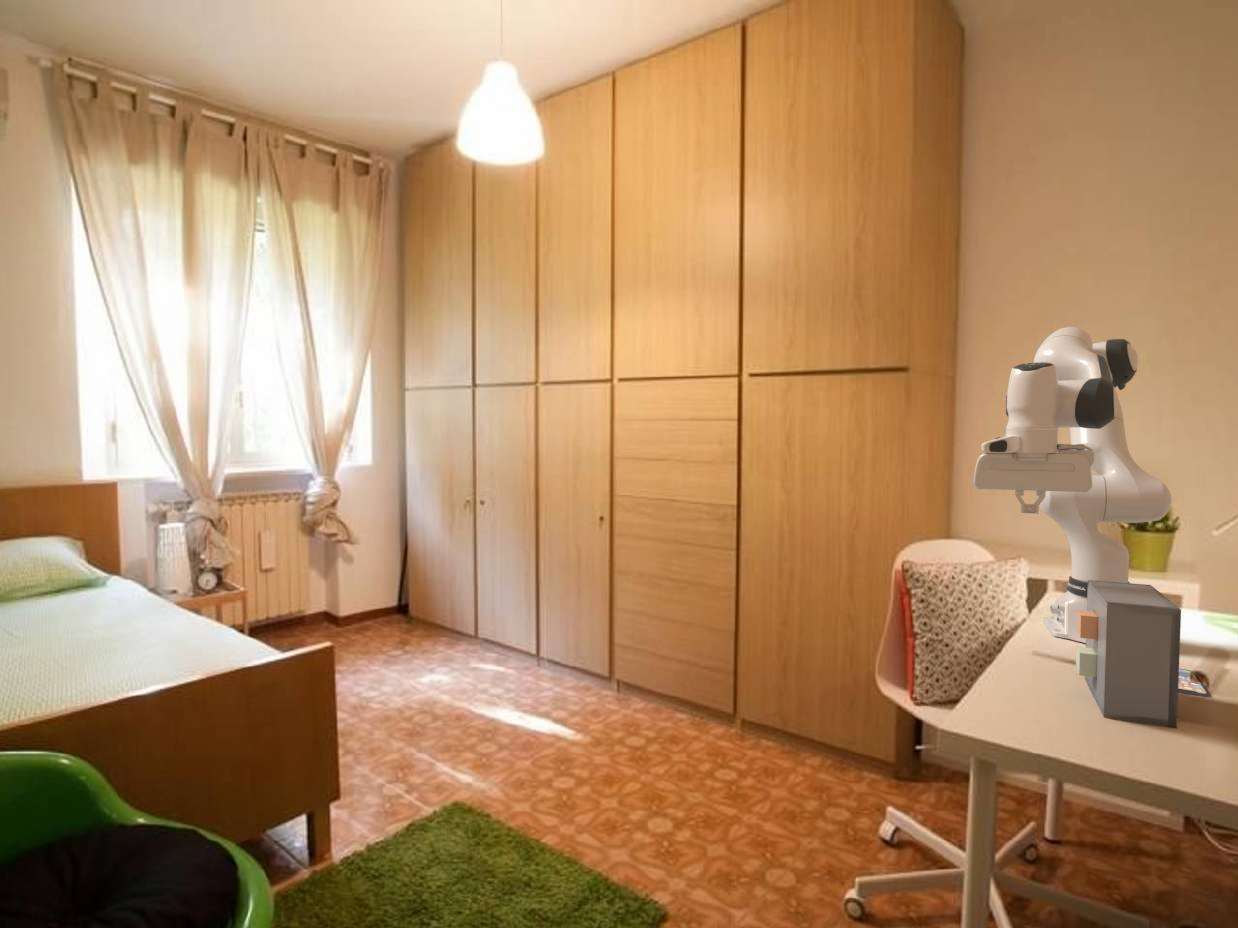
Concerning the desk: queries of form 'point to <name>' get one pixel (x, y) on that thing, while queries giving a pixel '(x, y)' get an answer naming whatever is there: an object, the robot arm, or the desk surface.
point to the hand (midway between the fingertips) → (1029, 513)
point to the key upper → (1087, 624)
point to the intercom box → (1135, 653)
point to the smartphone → (1190, 685)
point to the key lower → (1086, 661)
